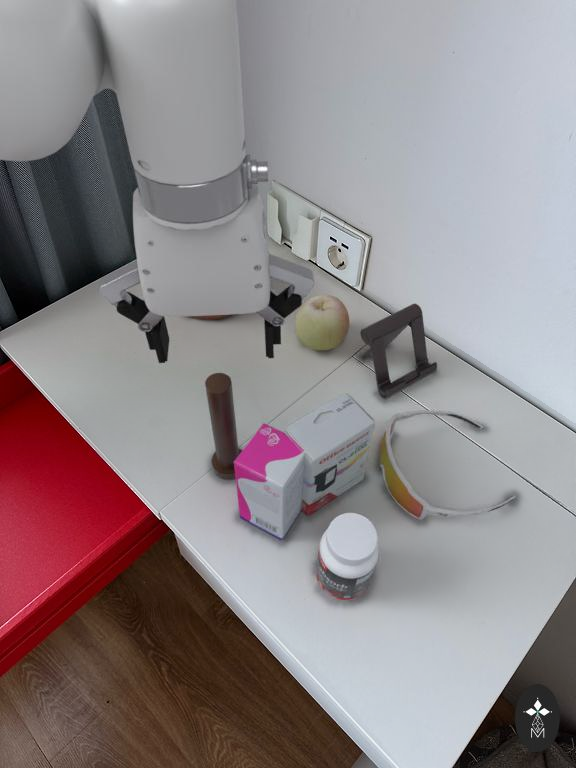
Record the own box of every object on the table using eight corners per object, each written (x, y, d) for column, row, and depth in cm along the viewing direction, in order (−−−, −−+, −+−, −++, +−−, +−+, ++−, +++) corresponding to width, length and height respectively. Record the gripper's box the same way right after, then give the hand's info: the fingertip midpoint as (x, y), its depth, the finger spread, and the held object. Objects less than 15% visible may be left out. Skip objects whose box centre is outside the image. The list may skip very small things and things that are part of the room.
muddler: (211, 480, 67) (197, 399, 55) (212, 451, 70) (198, 367, 58) (246, 479, 67) (238, 397, 55) (245, 450, 70) (238, 366, 58)
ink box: (306, 518, 64) (311, 463, 55) (281, 487, 67) (281, 429, 58) (365, 479, 68) (378, 421, 58) (338, 450, 70) (347, 390, 61)
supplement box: (308, 500, 66) (313, 445, 57) (282, 542, 62) (282, 491, 53) (265, 477, 67) (263, 420, 58) (237, 517, 64) (230, 463, 55)
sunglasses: (361, 429, 72) (371, 405, 68) (470, 424, 75) (485, 400, 71) (392, 534, 63) (407, 513, 59) (514, 523, 66) (534, 502, 63)
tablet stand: (384, 402, 75) (394, 360, 68) (348, 364, 79) (354, 321, 72) (435, 374, 78) (449, 331, 71) (397, 339, 82) (407, 295, 76)
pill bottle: (304, 574, 60) (308, 533, 53) (340, 538, 63) (349, 495, 55) (345, 614, 58) (355, 578, 50) (381, 575, 60) (396, 535, 53)
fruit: (336, 366, 79) (341, 325, 72) (287, 350, 80) (287, 308, 74) (354, 330, 83) (360, 288, 77) (307, 315, 85) (310, 273, 79)
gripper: (313, 148, 42) (307, 316, 55) (75, 155, 42) (127, 324, 55) (323, 207, 37) (314, 376, 51) (54, 217, 37) (116, 385, 50)
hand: (217, 349), depth 53 cm, fingers open, 9 cm apart
